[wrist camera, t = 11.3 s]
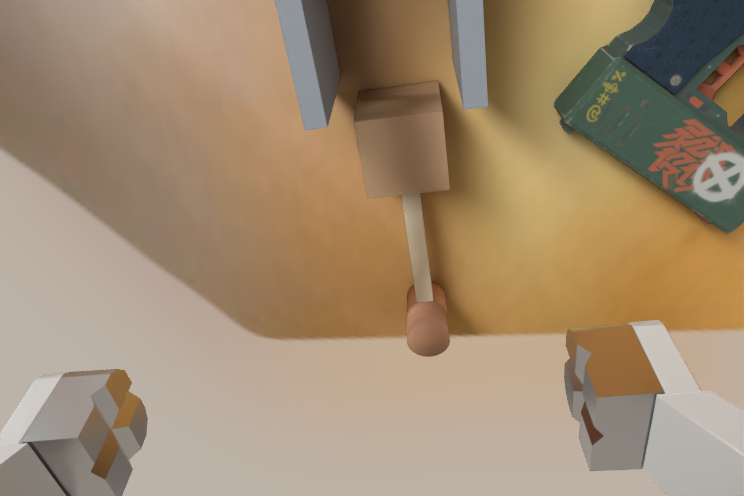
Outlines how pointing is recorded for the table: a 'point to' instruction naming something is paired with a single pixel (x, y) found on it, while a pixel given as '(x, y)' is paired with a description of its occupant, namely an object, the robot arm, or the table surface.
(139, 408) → the robot arm
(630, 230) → the table surface
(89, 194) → the table surface
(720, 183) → the gun
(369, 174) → the wooden mallet
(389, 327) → the table surface
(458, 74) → the grey u-shaped bracket
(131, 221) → the table surface
